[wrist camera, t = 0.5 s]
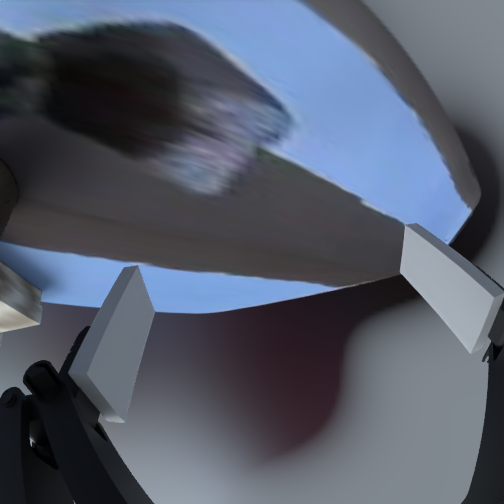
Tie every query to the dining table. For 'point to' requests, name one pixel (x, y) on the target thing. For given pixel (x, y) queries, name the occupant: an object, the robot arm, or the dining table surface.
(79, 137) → the dining table surface
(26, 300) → the plate
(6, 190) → the pillar candle
